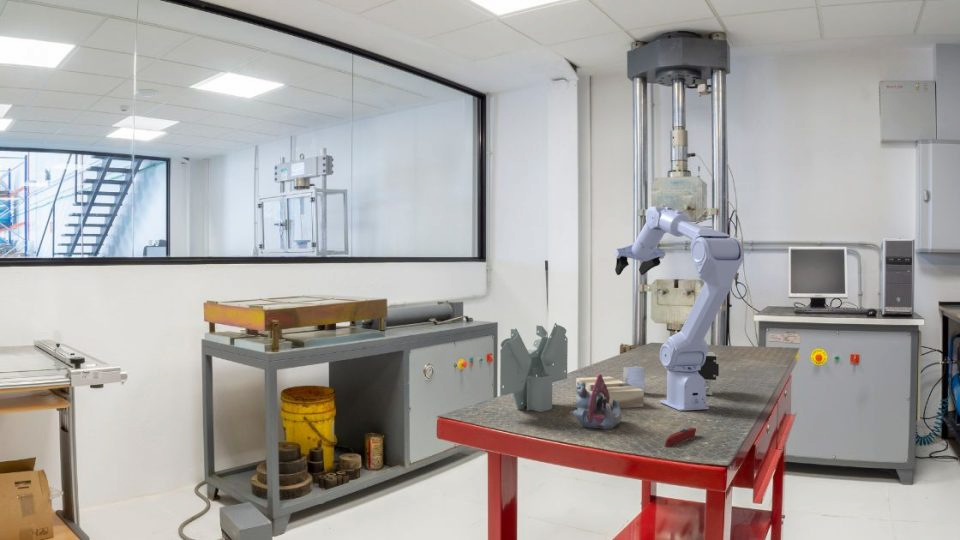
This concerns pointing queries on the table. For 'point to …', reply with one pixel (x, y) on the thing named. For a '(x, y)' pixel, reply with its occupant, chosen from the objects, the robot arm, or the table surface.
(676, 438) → the utility knife
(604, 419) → the grey red figurine
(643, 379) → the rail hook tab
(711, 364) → the pneumatic valve
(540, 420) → the table surface
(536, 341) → the bracket
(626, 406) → the light wood flat block
